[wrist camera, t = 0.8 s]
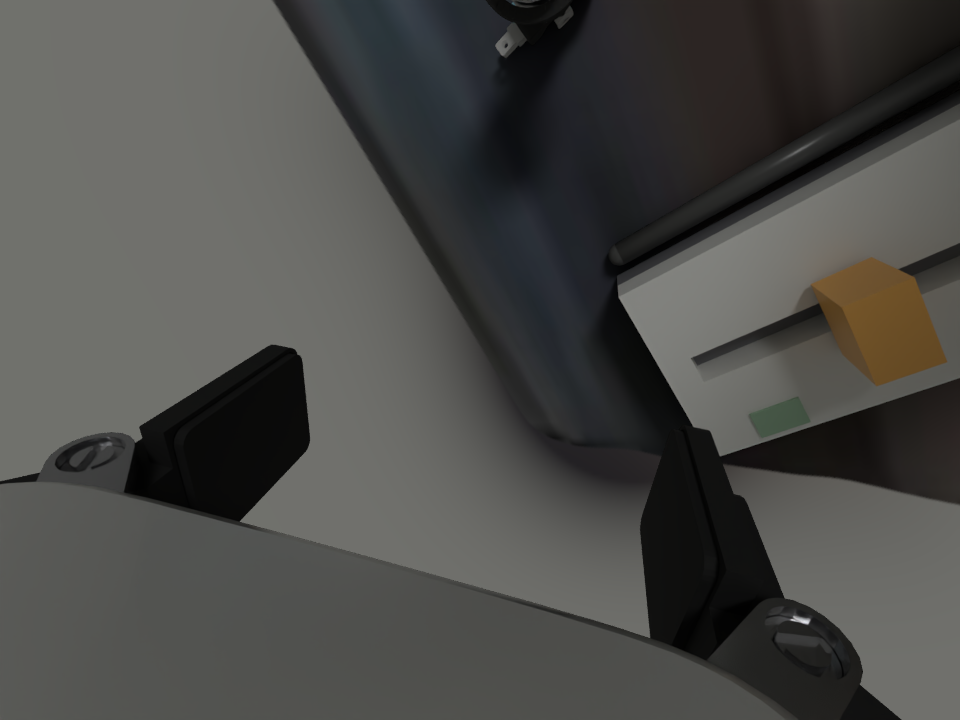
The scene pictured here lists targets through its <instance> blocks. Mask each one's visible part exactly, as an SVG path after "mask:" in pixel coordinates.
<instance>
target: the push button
mask: <svg viewBox="0 0 960 720" xmlns="http://www.w3.org/2000/svg"><path fill="white" fill-rule="evenodd" d="M486 1H487V2H488V4H489V5H490V6H491V7H492V8H493V9H494V10H495V12H497V13H498V14H499V15H500V16H502V17H503V18H505V19H507V20H509V21H511V22H512V23H511V24H510V25H509V27H508V28H507V30H508V31H507V33H506V34H505V35H504V36H503V37H502V38H501V39H500V40H499V41H498V42H497V43H496V46H495V47H496V48H497V49H498V51H499V52H500V54H501V55H502V56H504V57H505V58H507V57H508V56H509V55H510V54H511V53H512V52H513V51H514V49H515V48H516V47H517V46H518V45H519V46H520V47H521V46H522V45H523V44H524V43H525V42H526V41H528V42H529V43H530V44H531V45H534V44H535V43H536V42H537V41H538V40H539V39H540V38H541V36H542V35H543V33H544V31H545V29H546V27H547V26H548V25H549V24H550V23H551V22H552V21H553V20H554V21H555V23H556V24H557V26H558V28H559V29H560V28H561V27H562V26H563V25H564V24H565V23H566V22H567V21H568V20H569V19H570V18H571V17H572V16H573V10H572V8H571V6H570V4H571V2H572V1H573V0H512V1H513V3H512V4H511V3H509V2H507V1H506V0H486ZM565 19H566V20H565ZM503 41H504V42H503ZM502 42H503V43H502ZM507 43H508V46H507V48H505V44H507Z"/></svg>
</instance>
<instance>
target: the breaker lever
mask: <svg viewBox="0 0 960 720" xmlns="http://www.w3.org/2000/svg"><path fill="white" fill-rule="evenodd" d="M811 287H812V289H813V291H814V293H815V295H816V298H817V300H818V302H819V304H820V306H821V309H822V311H823V313H824V315H825V317H826V320H827V322H828V324H829V326H830V328H831V331H832V333H833V335H834V337H835V339H836V342H837V344H838V346H839V348H840V350H841V353H842V355H844V356H845V357H846V358H847V359H848V360H849V361H850V362H851V363H852V364H853V365H854V366H855V367H856V368H857V369H858V370H860V371H861V372H862V373H863V374H864V375H865V376H866V377H867V378H868V379H869V380H870V381H871V382H872V383H873V384H874V385H876V386H879V385H882V384H885V383H888V382H891V381H894V380H897V379H900V378H903V377H906V376H908V375H911V374H914V373H917V372H920V371H923V370H926V369H929V368H932V367H935V366H938V365H941V364H944V363H946V362H947V360H946V357H945V355H944V352H943V350H942V347H941V344H940V342H939V339H938V337H937V334H936V331H935V329H934V326H933V324H932V321H931V319H930V316H929V313H928V311H927V308H926V306H925V303H924V300H923V298H922V295H921V293H920V290H919V288H918V285H917V282H916V280H915V277H913V276H911V275H909V274H907V273H905V272H902V271H900V270H898V269H896V268H894V267H892V266H890V265H887V264H885V263H883V262H881V261H879V260H877V259H875V258H872V257H871V258H868V259H866V260H864V261H862V262H859V263H857V264H855V265H853V266H850V267H848V268H846V269H844V270H841V271H839V272H837V273H835V274H833V275H830V276H828V277H826V278H824V279H821V280H819V281H817V282H815V283H812V284H811Z"/></svg>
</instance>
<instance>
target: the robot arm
mask: <svg viewBox="0 0 960 720" xmlns="http://www.w3.org/2000/svg"><path fill="white" fill-rule="evenodd" d="M139 428H140V431H141V435H142V439H141V440H139V441H138V442H136V443H135V442H134V440H133V439H132V438H131V437H130V436H129V435H126V434H123V433H113V432H110V433H100V434H95V435H90V436H87V437H83V438H80V439H77V440H75V441H72V442H70V443H68V444H66V445H64V446H63V447H60V448H59V449H58V450H56V451H55V452H54V453H53V454H51V455H50V456H49V458H48V459H47V460H46V462H45V464H44V466H43V468H42V470H41V472H40V473H36V474H32V475H27V476H23V477H18V478H14V479H9V480H5V481H0V720H901V719H900V718H899V717H898V716H896V715H895V714H894V713H893V712H892V711H890V710H889V709H888V708H887V707H886V706H884V705H883V704H882V703H881V702H880V701H879V700H877V699H876V698H875V697H874V696H872V695H871V694H870V693H869V692H868V691H867V690H865V689H864V688H863V687H862V686H861V685H860V683H861V678H862V674H863V670H862V665H861V661H860V657H859V656H858V654H857V652H856V650H855V649H854V647H853V645H852V643H851V642H850V641H849V640H848V639H847V638H846V636H845V635H844V634H843V633H842V632H841V630H840V629H839V628H838V627H836V626H835V625H834V624H833V623H832V622H830V621H829V620H828V619H827V618H826V617H825V616H823V615H821V614H820V613H818V612H817V611H815V610H813V609H812V608H810V607H808V606H806V605H803V604H801V603H798V602H796V601H794V600H789V599H785V598H784V596H783V593H782V591H781V589H780V585H779V583H778V581H777V578H776V575H775V573H774V570H773V568H772V565H771V563H770V560H769V558H768V555H767V553H766V550H765V548H764V545H763V542H762V540H761V537H760V535H759V532H758V530H757V527H756V525H755V522H754V520H753V517H752V515H751V512H750V510H749V507H748V505H747V503H746V501H745V499H744V498H743V497H741V496H740V495H735V494H733V491H732V488H731V486H730V483H729V480H728V477H727V475H726V472H725V469H724V467H723V464H722V461H721V458H720V456H719V453H718V450H717V447H716V445H715V442H714V439H713V437H712V434H711V432H710V431H709V430H706V429H701V428H696V427H690V426H685V425H683V426H681V428H680V429H679V431H678V430H673V429H672V430H671V432H670V434H669V436H668V439H667V442H666V445H665V448H664V451H663V454H662V457H661V460H660V463H659V466H658V469H657V472H656V475H655V478H654V481H653V484H652V487H651V490H650V493H649V496H648V499H647V502H646V505H645V508H644V511H643V515H642V518H641V525H640V534H641V544H642V555H643V565H644V575H645V585H646V597H647V607H648V618H649V628H650V638H648V637H644V636H641V635H638V634H635V633H632V632H629V631H627V630H624V629H621V628H617V627H614V626H611V625H608V624H604V623H601V622H598V621H594V620H591V619H588V618H584V617H581V616H577V615H574V614H570V613H567V612H563V611H560V610H557V609H553V608H550V607H547V606H543V605H540V604H536V603H533V602H529V601H526V600H522V599H519V598H515V597H511V596H508V595H504V594H501V593H497V592H494V591H490V590H486V589H483V588H479V587H476V586H472V585H468V584H465V583H461V582H458V581H454V580H450V579H447V578H444V577H440V576H436V575H433V574H429V573H426V572H422V571H418V570H414V569H411V568H408V567H403V566H400V565H397V564H392V563H389V562H386V561H382V560H378V559H375V558H371V557H368V556H364V555H360V554H356V553H353V552H349V551H346V550H342V549H338V548H334V547H331V546H327V545H324V544H320V543H316V542H313V541H309V540H305V539H301V538H298V537H294V536H291V535H287V534H283V533H279V532H276V531H272V530H268V529H264V528H260V527H257V526H253V525H249V524H245V523H242V522H240V520H241V519H242V518H243V517H244V516H245V515H246V514H247V513H248V512H249V511H250V510H251V509H252V508H253V507H254V506H255V505H256V503H257V502H258V501H259V500H260V499H261V498H262V497H263V496H264V495H265V494H266V493H267V492H268V491H269V490H270V489H271V488H272V487H273V486H274V484H275V483H276V482H277V481H278V480H279V479H280V478H281V477H282V476H283V475H284V474H285V473H286V472H287V471H288V470H289V469H290V468H291V466H292V465H293V464H294V463H295V462H296V461H297V460H298V459H299V458H300V457H301V456H302V455H303V454H304V453H305V452H306V450H307V448H308V446H309V443H310V433H309V423H308V413H307V403H306V393H305V384H304V373H303V363H302V358H301V357H300V356H299V355H297V352H296V350H294V349H293V348H288V347H283V346H278V345H270V346H268V347H266V348H265V349H263V350H261V351H260V352H258V353H257V354H255V355H253V356H252V357H250V358H249V359H247V360H245V361H244V362H242V363H241V364H239V365H238V366H236V367H234V368H233V369H231V370H229V371H228V372H226V373H225V374H223V375H221V376H220V377H218V378H216V379H215V380H213V381H212V382H210V383H209V384H207V385H205V386H204V387H202V388H200V389H199V390H197V391H196V392H194V393H192V394H191V395H189V396H188V397H186V398H184V399H183V400H181V401H180V402H178V403H177V404H175V405H173V406H172V407H170V408H169V409H167V410H165V411H164V412H162V413H160V414H159V415H157V416H156V417H154V418H153V419H151V420H149V421H148V422H146V423H144V424H143V425H141V426H140V427H139Z"/></svg>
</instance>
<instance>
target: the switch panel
mask: <svg viewBox="0 0 960 720" xmlns="http://www.w3.org/2000/svg"><path fill="white" fill-rule="evenodd" d="M959 80H960V45H959V46H958V47H956V48H954V49H952V50H951V51H949V52H947V53H945V54H944V55H942V56H940V57H939V58H937V59H935V60H933V61H932V62H930V63H928V64H926V65H925V66H923V67H921V68H919V69H918V70H916V71H914V72H913V73H911V74H909V75H907V76H906V77H904V78H902V79H900V80H899V81H897V82H895V83H893V84H892V85H890V86H888V87H886V88H885V89H883V90H881V91H880V92H878V93H876V94H874V95H873V96H871V97H869V98H867V99H866V100H864V101H862V102H860V103H859V104H857V105H855V106H854V107H852V108H850V109H848V110H847V111H845V112H843V113H841V114H840V115H838V116H836V117H834V118H833V119H831V120H829V121H827V122H826V123H824V124H822V125H821V126H819V127H817V128H815V129H814V130H812V131H810V132H808V133H807V134H805V135H803V136H801V137H800V138H798V139H796V140H795V141H793V142H791V143H789V144H788V145H786V146H784V147H782V148H781V149H779V150H777V151H775V152H774V153H772V154H770V155H768V156H767V157H765V158H763V159H762V160H760V161H758V162H756V163H755V164H753V165H751V166H749V167H748V168H746V169H744V170H742V171H741V172H739V173H737V174H736V175H734V176H732V177H730V178H729V179H727V180H725V181H723V182H722V183H720V184H718V185H716V186H715V187H713V188H711V189H709V190H708V191H706V192H704V193H703V194H701V195H699V196H697V197H696V198H694V199H692V200H690V201H689V202H687V203H685V204H683V205H682V206H680V207H678V208H677V209H675V210H673V211H671V212H670V213H668V214H666V215H664V216H663V217H661V218H659V219H657V220H656V221H654V222H652V223H650V224H649V225H647V226H645V227H644V228H642V229H640V230H638V231H637V232H635V233H633V234H631V235H630V236H628V237H626V238H624V239H623V240H621V241H619V242H618V243H616V244H614V245H613V246H612V247H611V248H610V250H609V253H608V257H609V260H610V261H611V262H612V263H613V264H614V265H618V266H621V265H624V264H626V263H628V262H630V261H632V260H634V259H636V258H637V257H639V256H641V255H643V254H645V253H646V252H648V251H650V250H652V249H654V248H656V247H657V246H659V245H661V244H663V243H665V242H666V241H668V240H670V239H672V238H674V237H676V236H677V235H679V234H681V233H683V232H685V231H686V230H688V229H690V228H692V227H694V226H696V225H697V224H699V223H701V222H703V221H705V220H706V219H708V218H710V217H712V216H714V215H716V214H717V213H719V212H721V211H723V210H725V209H726V208H728V207H730V206H732V205H734V204H736V203H737V202H739V201H741V200H743V199H745V198H746V197H748V196H750V195H752V194H754V193H756V192H757V191H759V190H761V189H763V188H765V187H766V186H768V185H770V184H772V183H774V182H776V181H777V180H779V179H781V178H783V177H785V176H786V175H788V174H790V173H792V172H794V171H796V170H797V169H799V168H801V167H803V166H805V165H806V164H808V163H810V162H812V161H814V160H816V159H817V158H819V157H821V156H823V155H825V154H826V153H828V152H830V151H832V150H834V149H836V148H837V147H839V146H841V145H843V144H845V143H846V142H848V141H850V140H852V139H854V138H856V137H857V136H859V135H861V134H863V133H865V132H866V131H868V130H870V129H872V128H874V127H876V126H877V125H879V124H881V123H883V122H885V121H886V120H888V119H890V118H892V117H894V116H896V115H897V114H899V113H901V112H903V111H905V110H906V109H908V108H910V107H912V106H914V105H915V104H917V103H919V102H921V101H923V100H925V99H926V98H928V97H930V96H932V95H934V94H935V93H937V92H939V91H941V90H943V89H945V88H946V87H948V86H950V85H952V84H954V83H955V82H957V81H959ZM871 257H872V258H875V259H877V260H879V261H881V262H883V263H885V264H887V265H890V266H892V267H894V268H896V269H898V270H900V271H902V272H905V273H907V274H909V275H911V276H913V277H915V280H916V282H917V285H918V288H919V290H920V293H921V295H922V298H923V300H924V303H925V306H926V308H927V311H928V313H929V316H930V319H931V321H932V324H933V326H934V329H935V331H936V334H937V337H938V339H939V342H940V344H941V347H942V350H943V352H944V355H945V357H946V360H947V362H946V363H944V364H941V365H938V366H935V367H932V368H929V369H926V370H923V371H920V372H917V373H914V374H911V375H908V376H906V377H903V378H900V379H897V380H894V381H891V382H888V383H885V384H882V385H879V386H876V385H874V384H873V383H872V382H871V381H870V380H869V379H868V378H867V377H866V376H865V375H864V374H863V373H862V372H861V371H860V370H858V369H857V368H856V367H855V366H854V365H853V364H852V363H851V362H850V361H849V360H848V359H847V358H846V357H845V356H844V355H842V353H841V350H840V348H839V346H838V344H837V342H836V339H835V337H834V335H833V333H832V331H831V328H830V326H829V324H828V322H827V320H826V317H825V315H824V313H823V311H822V309H821V306H820V304H819V302H818V300H817V298H816V295H815V293H814V291H813V289H812V287H811V284H812V283H815V282H817V281H819V280H821V279H824V278H826V277H828V276H830V275H833V274H835V273H837V272H839V271H841V270H844V269H846V268H848V267H850V266H853V265H855V264H857V263H859V262H862V261H864V260H866V259H868V258H871ZM617 284H618V297H619V299H620V301H621V302H622V304H623V306H624V307H625V309H626V311H627V313H628V314H629V316H630V318H631V320H632V321H633V323H634V325H635V326H636V328H637V330H638V332H639V333H640V335H641V337H642V339H643V340H644V342H645V344H646V345H647V347H648V349H649V351H650V352H651V354H652V356H653V358H654V359H655V361H656V363H657V364H658V366H659V368H660V370H661V371H662V373H663V375H664V377H665V378H666V380H667V382H668V383H669V385H670V387H671V389H672V390H673V392H674V394H675V396H676V397H677V399H678V401H679V402H680V404H681V406H682V408H683V409H684V411H685V413H686V415H687V416H688V418H689V420H690V421H691V423H692V425H693V427H696V428H701V429H706V430H709V431H710V432H711V434H712V437H713V439H714V442H715V445H716V447H717V450H718V453H719V456H723V455H726V454H729V453H732V452H735V451H738V450H741V449H744V448H747V447H750V446H753V445H757V444H760V443H763V442H766V441H769V440H772V439H775V438H778V437H781V436H784V435H787V434H790V433H793V432H796V431H799V430H802V429H805V428H809V427H812V426H815V425H818V424H821V423H824V422H827V421H830V420H833V419H836V418H839V417H842V416H845V415H848V414H851V413H854V412H857V411H860V410H864V409H867V408H870V407H873V406H876V405H879V404H882V403H885V402H888V401H891V400H894V399H897V398H900V397H903V396H906V395H909V394H912V393H916V392H919V391H922V390H925V389H928V388H931V387H934V386H937V385H940V384H943V383H946V382H949V381H952V380H955V379H958V378H960V90H959V91H957V92H955V93H953V94H951V95H950V96H948V97H946V98H944V99H942V100H940V101H938V102H937V103H935V104H933V105H931V106H929V107H927V108H926V109H924V110H922V111H920V112H918V113H916V114H914V115H913V116H911V117H909V118H907V119H905V120H903V121H902V122H900V123H898V124H896V125H894V126H892V127H891V128H889V129H887V130H885V131H883V132H881V133H879V134H878V135H876V136H874V137H872V138H870V139H868V140H867V141H865V142H863V143H861V144H859V145H857V146H856V147H854V148H852V149H850V150H848V151H846V152H844V153H843V154H841V155H839V156H837V157H835V158H833V159H832V160H830V161H828V162H826V163H824V164H822V165H821V166H819V167H817V168H815V169H813V170H811V171H809V172H808V173H806V174H804V175H802V176H800V177H798V178H797V179H795V180H793V181H791V182H789V183H787V184H786V185H784V186H782V187H780V188H778V189H776V190H774V191H773V192H771V193H769V194H767V195H765V196H763V197H762V198H760V199H758V200H756V201H754V202H752V203H751V204H749V205H747V206H745V207H743V208H741V209H739V210H738V211H736V212H734V213H732V214H730V215H728V216H727V217H725V218H723V219H721V220H719V221H717V222H716V223H714V224H712V225H710V226H708V227H706V228H704V229H703V230H701V231H699V232H697V233H695V234H693V235H692V236H690V237H688V238H686V239H684V240H682V241H681V242H679V243H677V244H675V245H673V246H671V247H669V248H668V249H666V250H664V251H662V252H660V253H658V254H657V255H655V256H653V257H651V258H649V259H647V260H646V261H644V262H642V263H640V264H638V265H636V266H634V267H633V268H631V269H629V270H627V271H625V272H623V273H622V274H620V275H618V276H617Z"/></svg>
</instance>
